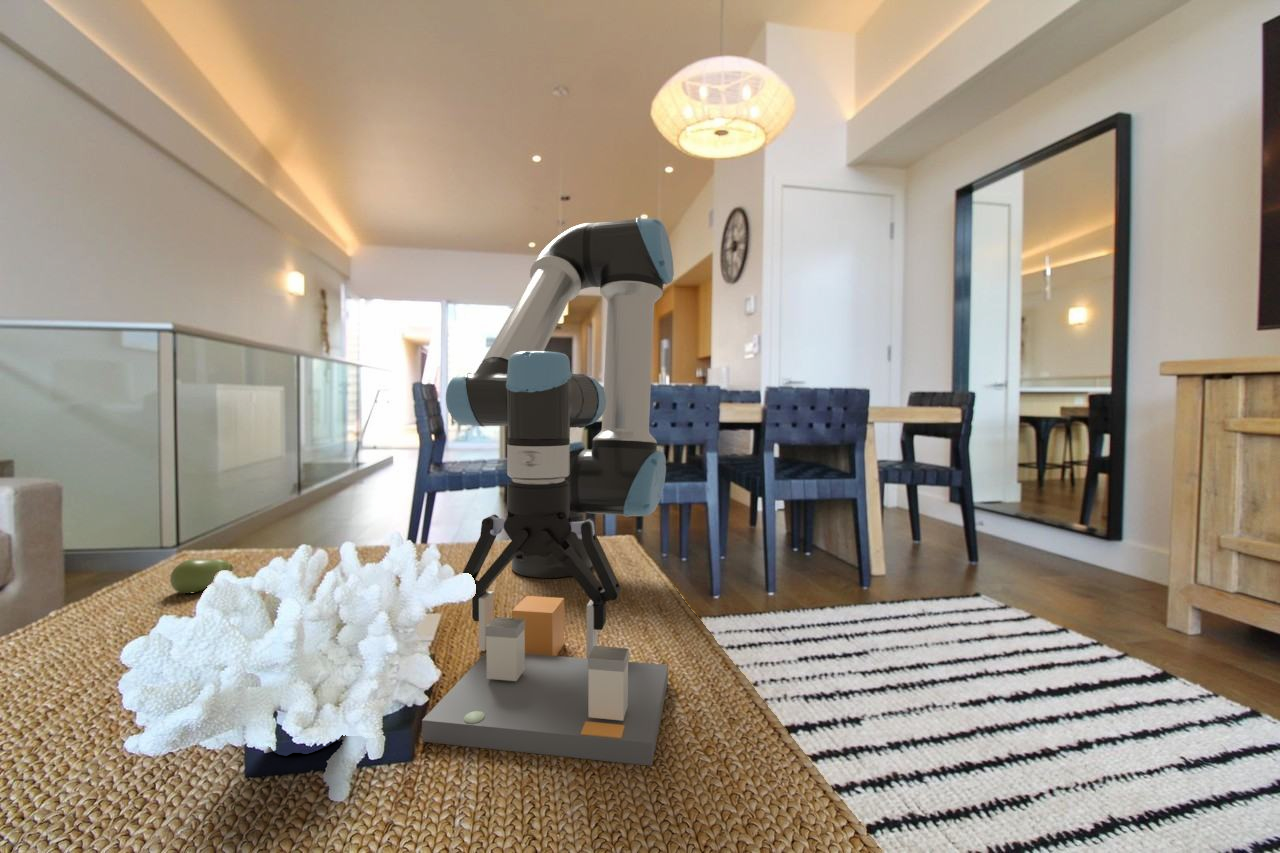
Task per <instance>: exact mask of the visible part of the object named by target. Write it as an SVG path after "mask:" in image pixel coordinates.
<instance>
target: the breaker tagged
mask: <svg viewBox="0 0 1280 853" xmlns="http://www.w3.org/2000/svg"><path fill="white" fill-rule="evenodd" d="M629 650H630V648H629V647H628V648H627V647H614V646H613V647H612V646H603V645H602V646H601V645H600V646H599V645H598V646H594V647H593V649H592V651H591V653H590V655H589V657H588V669H589V690H588V717H590V718H601V719H611V720H622V721H623V720H624V716H625V713H626V710H627V707H628V662H629V659H630V658H629V657H630V656H629V655H630V653H629Z"/></svg>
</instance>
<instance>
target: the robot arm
mask: <svg viewBox="0 0 1280 853" xmlns="http://www.w3.org/2000/svg"><path fill="white" fill-rule="evenodd" d="M529 270H530V272H529V276H530V280H529V282H528V283H527V285H526V287H525V289H524V290H523V292H522V293H521V295H520V297H519V299H518V300H517V302H516V304H515V306H514V307H513V309H512V310H511V312H510V313H509V315H508V317H507V319H506V321H505V323H504V324H503V326H502V327H501V328H500V330H499V332H498V333H497V335H496V337H495V339H494V341H493V342H492V344H491V345H490V348H489V349H488V351H487V353H486V354H485V356H484V358H483V359H482V361H481V363H480V364H479V366H478V367H477V370H476V371H475V373H470V372H467V373H464V374H463V373H462V374H458V375H456V376H454V377H452V379H451V380H450V381H449V383H448V385H447V387H446V392H445V404H446V408H447V411H448V412H447V413H449V414H450V417H451V418H452V419H453V420H454V421H455V422H456V423H458V424H460V425H468V426H477V427H507V445H506V446H507V447H506V448H507V451H506V452H507V454H506V455H507V456H506V457H507V459H506V460H507V461H506V463H507V464H506V465H507V467H506V468H507V469H506V470H507V472H506V473H507V476H508V477H509V478H511V480H509V482H508V483H507V484H506V485H507V486H506V488H507V489H506V490H507V491H506V494H507V496H506V498H507V499H506V501H507V502H506V509H507V516H506V518H501V517H499V515H497V514H491V515H489V516H486V517H485V518H483V519H482V521H481V527H480V536H479V538H478V540H477V543H476V544H475V546H474V548H473V550H472V552H471V554H470V556H469V558H468V561H467V563H466V565H465V567H464V569H463V571H462V573H469V574H471V575H472V577H473V578H474V580H475V584H476V594H475V596H474V597H473V598H472V597H471V598H472V599H471V600H472V601H471V606H472V607H471V611H472V613H471V614H472V615H471V616H472V617H471V618H472V620H473V622H478V651H481V652H482V651H483V652H486V626H487V625H488V624H489V623H490V622H491V621H492V620H493V619H494V618H495V614H494V612H495V605H494V604H495V603H494V601H495V599H494V597H495V594H494V593H495V592H494V590H493V591H492V590H488V589H489V588H490V586H491V585H492V584H493V583H494V582H495V580H496V579H497V578H498V576H500V575H501V574H502V572H503V571H504V570H505V568H506V567H507V566H508V565H509V564H510V563H511V571H513V572H514V573H516V574H518V575H520V576H524V577H530V578H537V579H538V578H539V579H551V578H552V579H555V578H564V577H571V576H572V577H573V578H574V580H575V581H576V582H577V584H578V585H579V586H580V587H581V588H582V590H583V591H584V593H585V594H586V595H587V596H588V597H589V601H588V602H587V604H586V643H585V644H586V646H585V647H586V651H585V652H586V654H585V655H586V656H585V658H588V657H589V655H590V653H591V651H592V649H593V647H594V646H599V645H598V643H599V642H598V641H599V639H598V638H599V634H598V632H599V631H602V630H603V628H604V626H605V624H606V622H607V602H609V601H616V600H617V599H618V597H619V596H620V594H621V592H622V587H621V586H622V585H621V584H620V582H619V580H618V578H617V577H616V574H615V572H614V570H613V567H612V566H611V563H610V562H609V558H608V557H607V555H606V553H605V551H604V548H603V546H602V543H601V542H600V540H599V538H598V536H597V527H596V520H594V519H593V518H591V517H590V518H587V519H586V520H585V518H584V517H585V514H596V515H597V514H598V515H611V516H612V515H613V516H624V517H626V518H628V517H646V516H649V515H652V514H653V513H654V512H655V510H656V509H657V507H658V506H659V503H660V502H661V501H660V500H661V498H662V495H663V492H664V491H663V490H664V487H665V481H666V476H667V475H666V474H667V465H666V463H667V459H666V455H665V453H664V452H662V451H661V450H657V449H658V441H657V440H656V438H655V437H653V435H652V434H651V433H650V415H651V414H650V412H651V390H652V389H651V388H652V386H651V385H652V364H653V363H652V361H653V341H654V340H653V339H654V318H655V317H654V316H655V315H654V314H655V313H654V312H655V303H657V302H658V301H659V300H660V299H661V298H662V297H663V296H664V295H663V293H664V291H663V290H664V285H668V284H671V283H672V282H673V280H674V272H675V271H674V258H673V253H672V246H671V243H670V239H669V234H668V230H667V229H666V227H665V225H664V223H663V222H662V221H661V220H660V219H658V218H653V217H652V218H651V217H650V218H640V217H636V218H633V219H624V220H613V221H603V222H601V221H600V222H585V223H581V224H580V223H579V224H578V225H575V226H573V227H570V228H569V229H566V230H565V231H563V232H562V233H561V234H559V235H558V236H557V237H555V238H554V239H553V240H552V241H551V242H550V243H548V244H547V245H546V246H545V247H544V249H542V251H541V252H540V253H539V254H538V256H537V257H536V258H535V260H534V262H533V263H532V265H531V268H530V269H529ZM588 288H599V289H600V290H599V292H600V294H601V296H602V297H604V299H605V300H606V301H607V309H606V310H607V312H606V313H607V314H606V331H605V333H606V334H605V351H604V352H605V353H604V354H605V355H604V370H603V371H604V373H603V375H604V377H603V386H602V384H601V383H600V382H599V381H597V380H596V378H592V377H591V376H589V375H586V374H585V373H572V371H571V360H570V359H569V358H570V357H569V356H568V355H567V354H565V353H562V352H560V351H559V352H558V351H546V350H545V349H546V347H547V345H548V343H549V341H550V340H551V338H552V335H553V334H554V331H555V330H556V327H557V325H558V324H559V321H560V319H561V318H562V315H563V313H564V311H565V309H566V307H567V305H568V303H569V302H570V301H572V300H575V299H576V297H578V295H579V293H580V291H582V290H584V289H588ZM600 418H602V419H601V420H602V421H601V430H600V431H599V433H597V435H595V436H594V437H593V439H592V447H591V449H589V448H588V449H586V445H585V443H584V442H583V441H582V440H576V441H571V440H570V435H571V433H570V432H571V428H579V429H582V428H585V427H586V426H587V427H588V426H589V425H592V424H595V422H597V421H598V420H599V419H600ZM503 529H504V532H505V533H506V535H507V536H508V537H509V539H510V542H509V543H508V544H507V545H506V547H505V548H504V549H503V550H502V552H501V553H500V555H498V557H497V558H496V559H495V560H494V562H493V563H492V564H491V566H489V568H488V569H487V570H486V572H485V573H484V574H483V575H482V576H481V577H480V578H479V579H478V580H477V578H478V575H479V574H480V571H481V569H482V568H483V565H484V563H485V561H486V559H487V557H488V555H489V553H490V550H491V549H492V547H493V544H494V543H495V541H496V538H497V536H498V535H499V534H501V533H502V532H503ZM592 567H593V568H594V571H595V573H596V575H597V577H598V579H599V580H598V579H597V577H596V576H595V575H594V574H593V572H592V570H591V569H592ZM487 590H488V591H487ZM598 630H599V631H598Z"/></svg>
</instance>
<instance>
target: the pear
mask: <svg viewBox="0 0 1280 853" xmlns="http://www.w3.org/2000/svg"><path fill="white" fill-rule="evenodd" d="M233 568H234V567H233V565H232V564H231V563H230V562H228V560H224V559H222V558H214V559H212V558H193V559H188V560H185V561H182V562H181V563H179V564H178V565H177V566H175V567H174V569H173V570H172V571H171V573H170V578H169V580H170V585H171V587H172V588H173V589H174V590H175V591H176V592H178V593H180V594H181V593H182V594H185V593H191V592H197V593H199V591H200V592H202V591H203V590H206V589H207V588H208V587H209V586H208V585H209V584H210V583H211V582H212V581H213V579H214V576H215V574H216V573H217V572H219V571H221V570H229V571H232V572H233V570H234V569H233ZM207 586H208V587H207ZM206 587H207V588H206Z"/></svg>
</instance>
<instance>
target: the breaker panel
mask: <svg viewBox="0 0 1280 853" xmlns="http://www.w3.org/2000/svg"><path fill="white" fill-rule="evenodd" d="M668 677H669V665H668V664H663V663H662V664H661V663H649V662H636V661H628V707H627V710H626V713H625V716H624V720H623V721H622V720H611V719H601V718H590V717H588V690H589V669H588V658H586V657H585V658H584V657H573V656H559V655H557V656H550V655H537V654H525V670H524V671H523V673H522V674H521V676H520V677H519V678H518V680H517V681H508V680H497V679H487V653H486V652H485V653H484V654H483V655H482V656H481V657H480V658H479V659H478V660H477V661H476V662H475V663H474V664H473V665H472V666H471V667H470V668H469V670H467V672H466V673H465V674H463V676H462V677H461V678H460V679H459V680H458V681H457V682H456V683H455V684H454V686H453V687H452V688H451V689H450V690H449V691H448V692H447V693H446V694H445V695H444V696H443V697H442V698H441V700H439V701H438V703H436V705H435V706H434V707H433V708H432V709H431V710H430V711H429V712H428V713H427V714H426V715H425V717H423V719H421V733H422V734H421V736H422V738H421V740H422V742H424V743H433V744H441V745H451V746H462V747H470V748H481V749H489V750H499V751H508V752H515V753H516V752H517V753H527V754H528V753H529V754H535V755H544V756H545V755H546V756H555V757H562V758H563V757H565V758H573V759H574V758H575V759H583V760H594V761H602V762H603V761H604V762H612V763H619V764H620V763H623V764H629V765H638V766H639V765H641V766H650V767H652V766H653V761H654V757H655V751H656V746H657V741H658V740H657V739H658V736H659V731H660V725H661V720H662V714H663V709H664V704H665V700H666V693H667V689H668V688H667V687H668V682H669V678H668Z"/></svg>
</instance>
